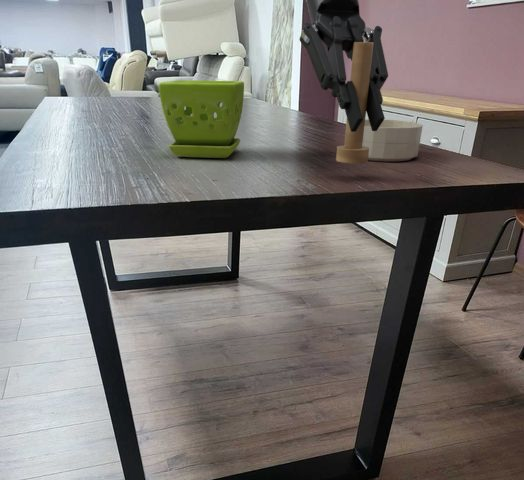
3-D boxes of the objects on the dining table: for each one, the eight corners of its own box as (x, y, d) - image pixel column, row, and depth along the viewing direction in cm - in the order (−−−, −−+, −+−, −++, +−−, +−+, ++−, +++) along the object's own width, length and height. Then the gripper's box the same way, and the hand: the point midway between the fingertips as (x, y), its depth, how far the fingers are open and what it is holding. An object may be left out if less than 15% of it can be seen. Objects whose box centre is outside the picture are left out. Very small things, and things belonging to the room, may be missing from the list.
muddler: (358, 157, 81) (370, 43, 73) (373, 162, 77) (388, 42, 69) (330, 158, 79) (340, 42, 71) (344, 164, 75) (355, 41, 67)
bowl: (393, 149, 106) (397, 118, 103) (431, 161, 95) (438, 127, 92) (333, 151, 102) (336, 119, 99) (366, 163, 91) (370, 128, 88)
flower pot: (245, 150, 101) (246, 80, 95) (237, 162, 89) (236, 83, 83) (179, 147, 102) (174, 78, 96) (161, 159, 90) (155, 81, 84)
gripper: (365, 20, 83) (402, 140, 78) (276, 17, 78) (309, 143, 73) (385, -23, 76) (428, 105, 71) (289, -30, 71) (327, 107, 66)
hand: (367, 124), depth 72 cm, fingers closed on muddler, 3 cm apart
